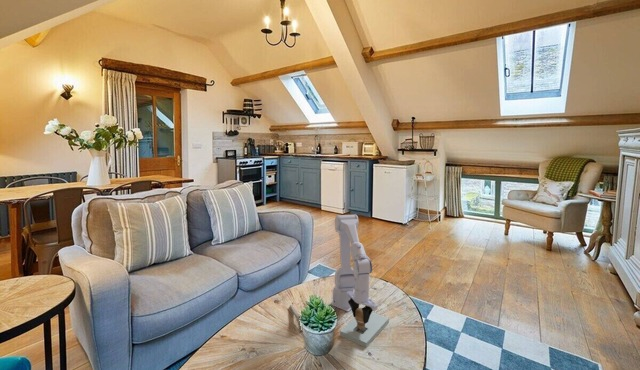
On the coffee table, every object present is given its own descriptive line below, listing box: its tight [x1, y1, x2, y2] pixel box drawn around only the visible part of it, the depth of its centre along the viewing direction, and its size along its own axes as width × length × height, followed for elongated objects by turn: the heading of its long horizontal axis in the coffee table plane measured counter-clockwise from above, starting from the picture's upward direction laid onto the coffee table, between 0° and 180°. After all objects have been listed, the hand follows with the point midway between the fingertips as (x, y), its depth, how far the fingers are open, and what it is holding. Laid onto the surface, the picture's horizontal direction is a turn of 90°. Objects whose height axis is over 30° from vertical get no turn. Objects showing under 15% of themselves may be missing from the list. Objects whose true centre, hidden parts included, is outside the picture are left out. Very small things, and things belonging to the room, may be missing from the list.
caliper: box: [289, 304, 303, 333], centre depth 137 cm, size 20×1×6 cm, turn 18°
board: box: [339, 311, 390, 348], centre depth 130 cm, size 12×20×2 cm, turn 143°
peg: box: [354, 307, 365, 330], centre depth 126 cm, size 5×5×7 cm
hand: (360, 319), depth 126 cm, fingers closed on peg, 5 cm apart
